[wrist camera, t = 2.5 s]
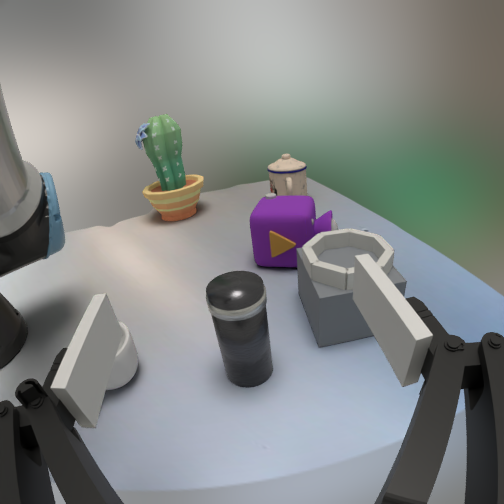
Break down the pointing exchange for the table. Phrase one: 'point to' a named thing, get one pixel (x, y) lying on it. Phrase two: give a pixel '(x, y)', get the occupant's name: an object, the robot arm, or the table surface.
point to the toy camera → (285, 228)
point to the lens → (241, 326)
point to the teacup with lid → (288, 177)
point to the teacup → (123, 361)
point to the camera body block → (339, 282)
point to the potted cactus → (168, 170)
